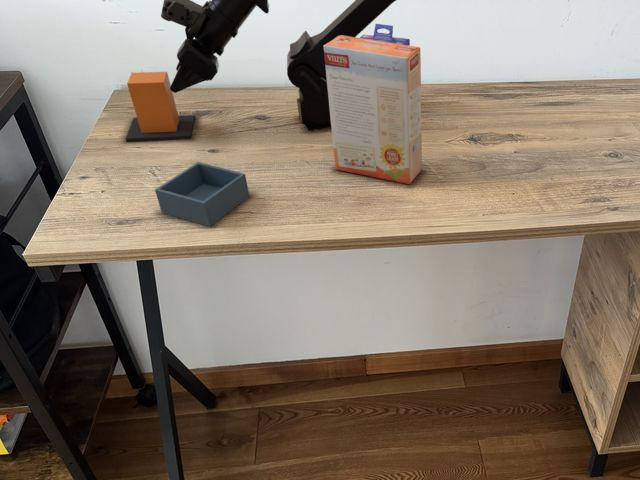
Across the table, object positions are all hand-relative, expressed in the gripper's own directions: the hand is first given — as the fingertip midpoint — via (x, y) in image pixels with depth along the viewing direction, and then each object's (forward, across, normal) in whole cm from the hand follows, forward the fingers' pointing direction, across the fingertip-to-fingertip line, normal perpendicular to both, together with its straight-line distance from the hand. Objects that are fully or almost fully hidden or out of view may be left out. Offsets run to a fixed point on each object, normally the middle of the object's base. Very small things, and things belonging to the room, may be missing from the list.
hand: (175, 80), depth 121 cm
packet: (+9, 0, +3) cm, 9 cm away
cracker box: (-17, +20, +30) cm, 40 cm away
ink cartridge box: (-20, -8, +33) cm, 40 cm away
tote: (+2, +28, +10) cm, 30 cm away
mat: (+10, 0, +3) cm, 10 cm away
